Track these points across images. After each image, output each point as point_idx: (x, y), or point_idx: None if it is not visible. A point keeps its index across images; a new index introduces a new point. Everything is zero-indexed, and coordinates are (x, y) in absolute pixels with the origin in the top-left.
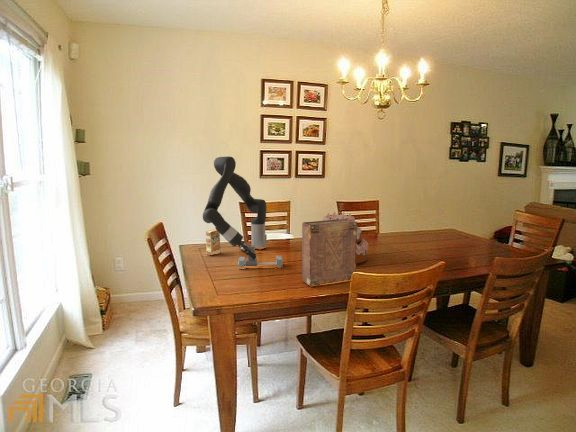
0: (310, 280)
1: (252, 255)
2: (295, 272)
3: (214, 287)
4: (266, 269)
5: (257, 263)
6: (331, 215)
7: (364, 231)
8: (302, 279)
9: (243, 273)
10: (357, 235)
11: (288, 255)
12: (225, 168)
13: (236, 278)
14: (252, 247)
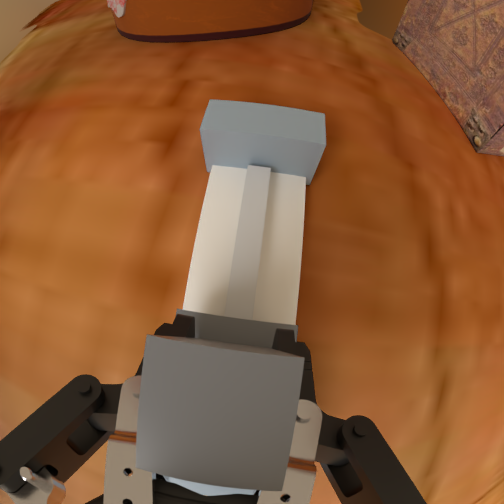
0: None
1: (309, 383)
2: (381, 124)
3: (481, 498)
4: (316, 258)
5: (245, 317)
6: None
7: (48, 8)
8: (484, 148)
9: None
10: None
11: (77, 104)
12: None
13: (436, 454)
14: (297, 404)
